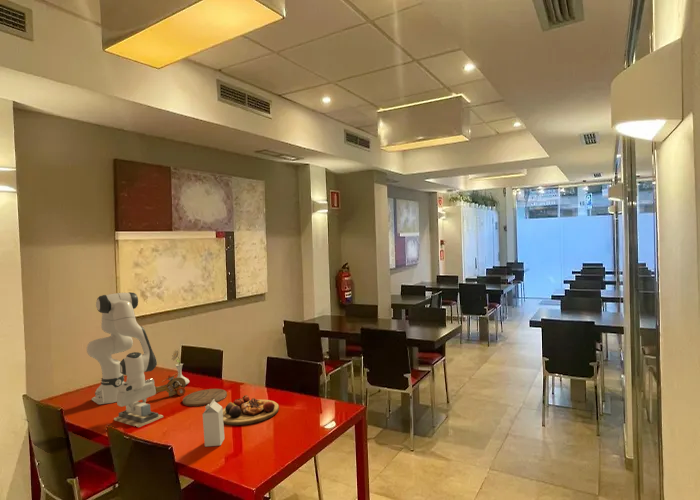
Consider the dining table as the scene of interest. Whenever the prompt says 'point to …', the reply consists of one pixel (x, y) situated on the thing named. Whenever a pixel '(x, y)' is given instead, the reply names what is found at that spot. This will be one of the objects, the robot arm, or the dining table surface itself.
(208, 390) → the trivet
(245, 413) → the wooden plate with food
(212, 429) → the milk carton
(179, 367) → the flower in vase
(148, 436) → the dining table surface
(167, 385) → the toy cannon
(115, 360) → the robot arm
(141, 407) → the white rectangular block
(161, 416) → the tray
